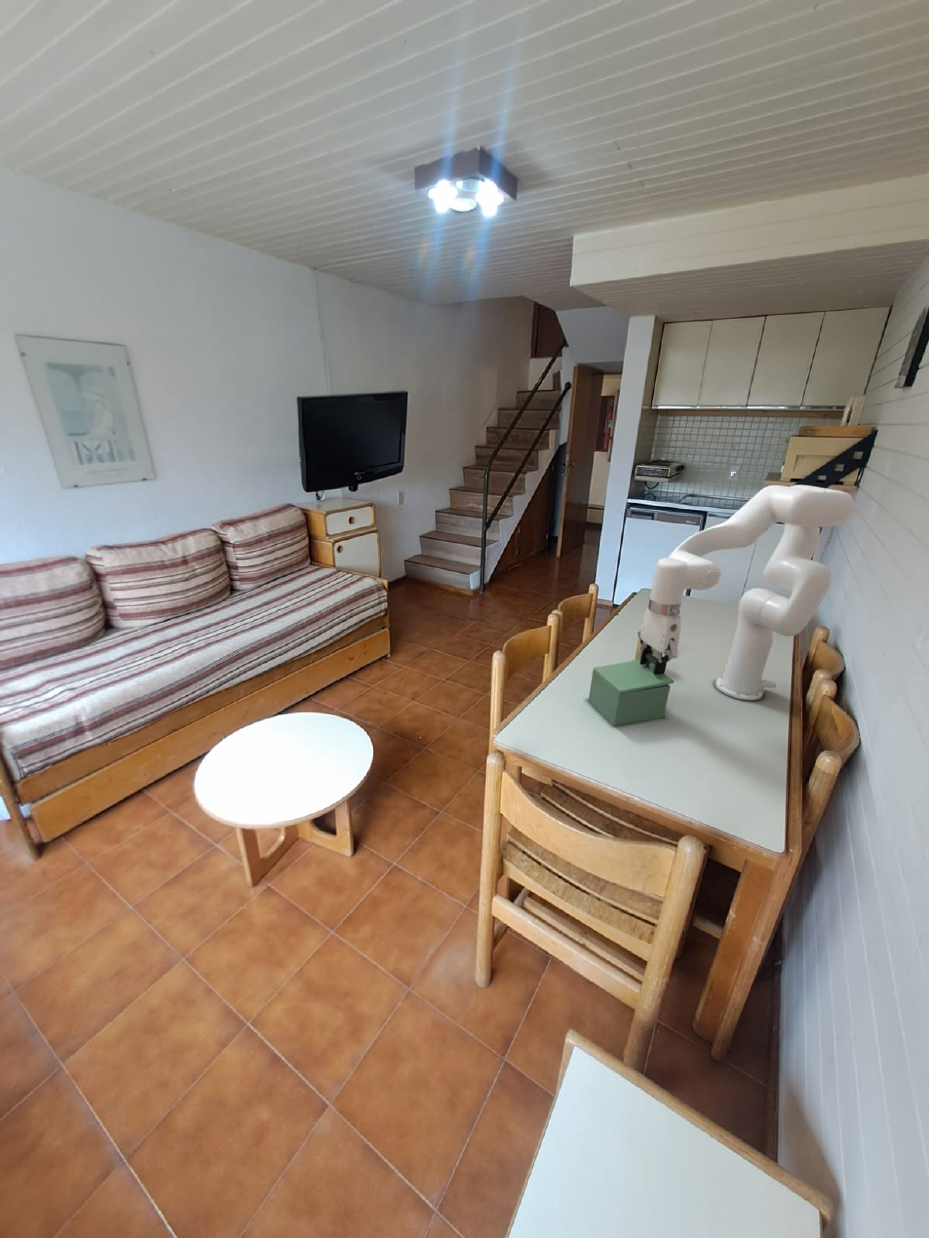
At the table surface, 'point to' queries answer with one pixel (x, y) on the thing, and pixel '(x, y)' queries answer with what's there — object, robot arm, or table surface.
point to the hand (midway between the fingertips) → (651, 668)
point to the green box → (627, 702)
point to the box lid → (632, 675)
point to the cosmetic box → (639, 652)
